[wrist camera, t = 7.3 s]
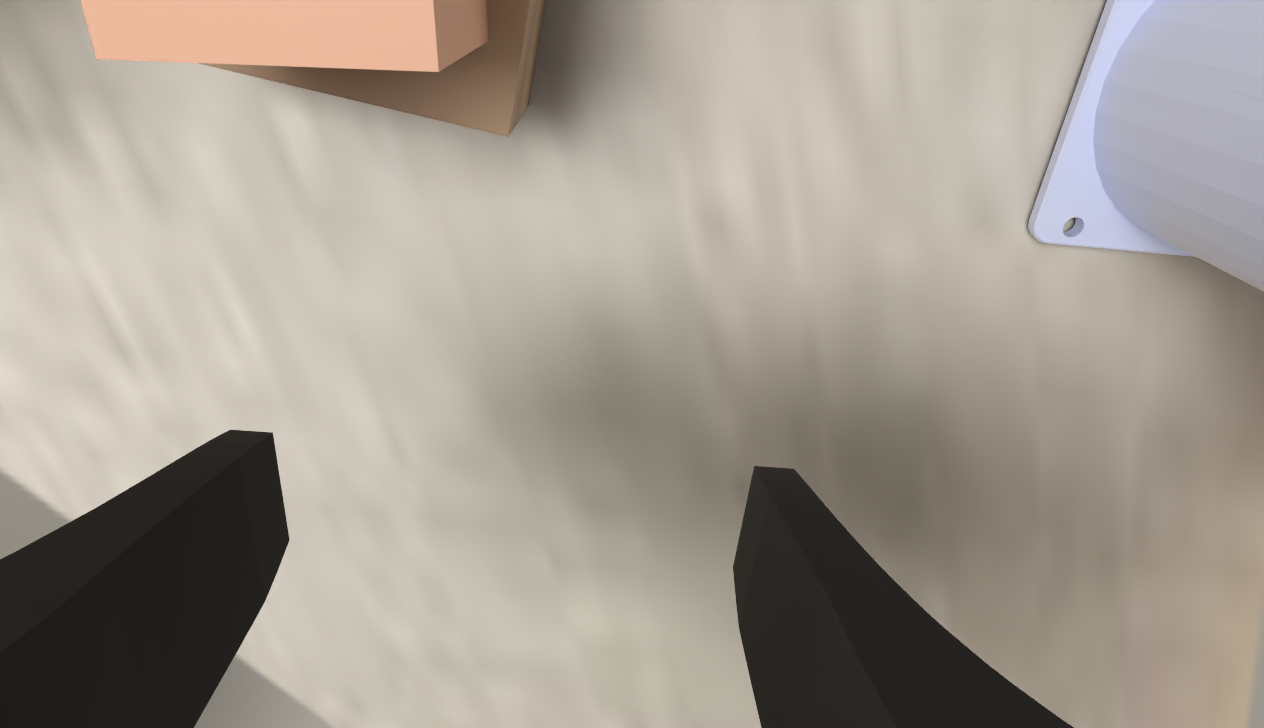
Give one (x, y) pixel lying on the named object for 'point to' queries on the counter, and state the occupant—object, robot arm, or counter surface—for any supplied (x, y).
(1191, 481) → the counter surface
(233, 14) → the terracotta block
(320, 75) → the walnut block
